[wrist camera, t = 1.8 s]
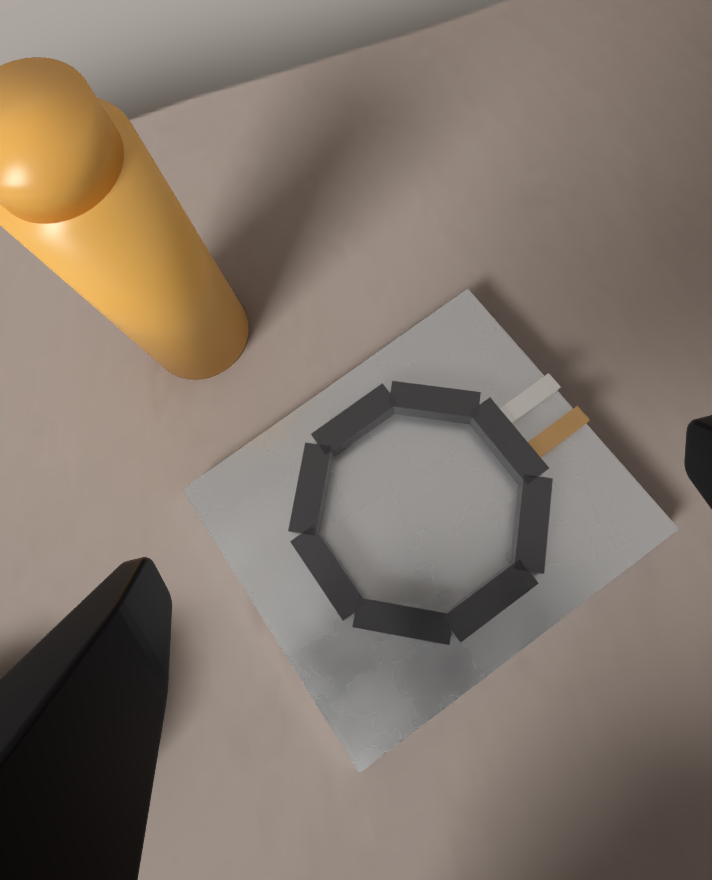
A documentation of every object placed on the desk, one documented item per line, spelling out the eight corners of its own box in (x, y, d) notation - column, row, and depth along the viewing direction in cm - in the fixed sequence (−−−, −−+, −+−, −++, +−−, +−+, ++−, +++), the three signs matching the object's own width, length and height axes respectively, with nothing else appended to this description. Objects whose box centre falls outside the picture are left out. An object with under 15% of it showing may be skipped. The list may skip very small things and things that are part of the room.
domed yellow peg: (183, 398, 24) (-21, 233, 13) (134, 324, 25) (-95, 109, 14) (267, 340, 25) (142, 128, 13) (215, 270, 26) (57, 15, 14)
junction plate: (362, 762, 20) (356, 783, 18) (193, 494, 23) (171, 485, 21) (664, 531, 21) (693, 526, 19) (464, 302, 24) (470, 275, 22)
